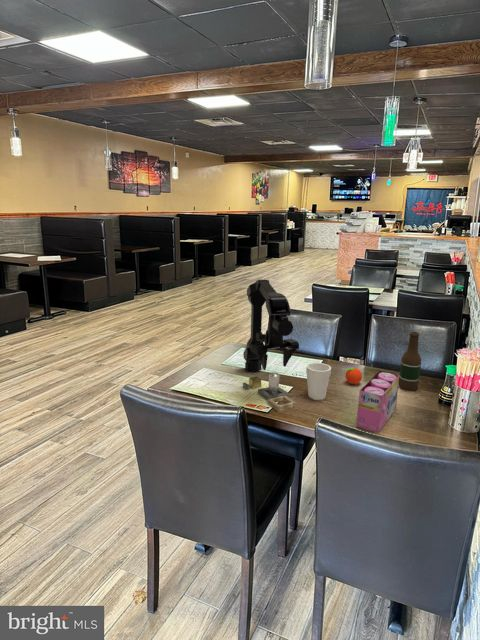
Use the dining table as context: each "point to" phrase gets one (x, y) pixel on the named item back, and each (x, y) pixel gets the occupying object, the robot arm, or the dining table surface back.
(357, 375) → the clementine
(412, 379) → the beer bottle
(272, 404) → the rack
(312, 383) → the foam cup
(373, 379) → the gum box
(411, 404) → the dining table surface
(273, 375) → the drill peg
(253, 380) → the translucent yellowish block
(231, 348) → the dining table surface
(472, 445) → the dining table surface
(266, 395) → the socket plate
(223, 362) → the dining table surface
